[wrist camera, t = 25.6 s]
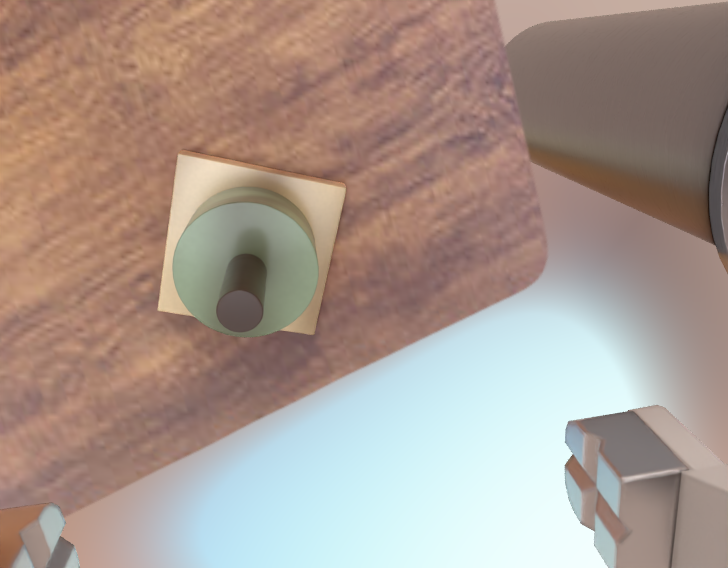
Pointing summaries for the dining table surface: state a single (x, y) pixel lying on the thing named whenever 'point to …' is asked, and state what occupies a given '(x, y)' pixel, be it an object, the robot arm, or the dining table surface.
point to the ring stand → (248, 245)
